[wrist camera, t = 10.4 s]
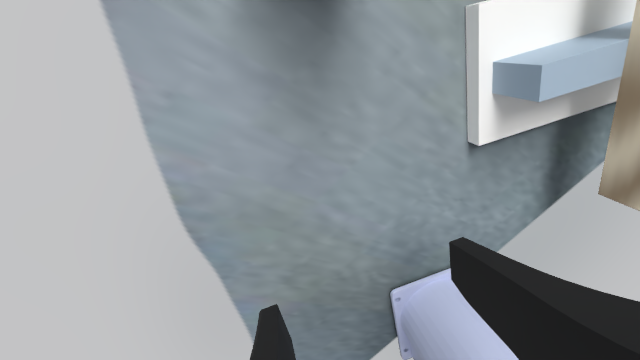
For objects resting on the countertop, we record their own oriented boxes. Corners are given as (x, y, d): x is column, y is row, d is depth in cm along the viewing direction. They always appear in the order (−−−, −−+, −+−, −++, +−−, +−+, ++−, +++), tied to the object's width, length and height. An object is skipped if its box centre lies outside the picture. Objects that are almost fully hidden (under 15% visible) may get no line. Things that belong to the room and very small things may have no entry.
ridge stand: (645, 83, 25) (729, 92, 21) (467, 141, 23) (519, 163, 19) (676, -51, 21) (788, -74, 17) (465, 6, 19) (530, -5, 15)
